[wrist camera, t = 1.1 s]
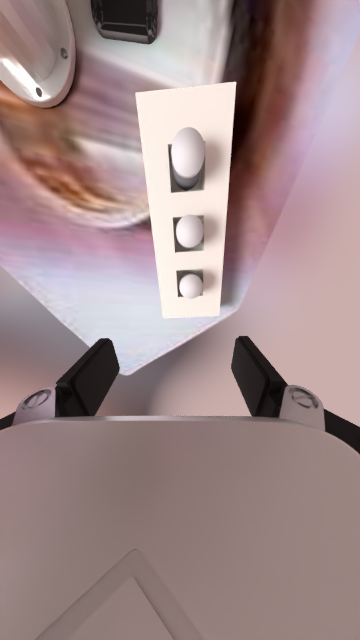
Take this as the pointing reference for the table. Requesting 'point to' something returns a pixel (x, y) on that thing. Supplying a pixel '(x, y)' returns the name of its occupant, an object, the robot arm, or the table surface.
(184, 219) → the knob mid
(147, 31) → the phone
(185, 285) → the knob
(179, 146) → the knob
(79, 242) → the table surface
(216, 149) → the console
